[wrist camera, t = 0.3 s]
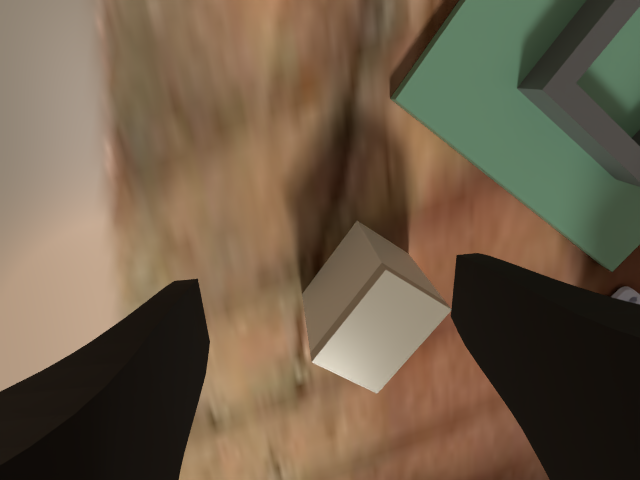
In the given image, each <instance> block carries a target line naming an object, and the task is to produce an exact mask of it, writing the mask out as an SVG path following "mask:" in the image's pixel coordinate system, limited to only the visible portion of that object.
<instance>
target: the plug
mask: <svg viewBox="0 0 640 480" xmlns="http://www.w3.org/2000/svg"><path fill="white" fill-rule="evenodd" d="M302 297H303V304H304V311H305V318H306V326H307V333H308V340H309V347H310V354H311V361H312V363H314V364H317V365H319V366H321V367H323V368H325V369H327V370H329V371H331V372H333V373H335V374H337V375H340V376H342V377H344V378H346V379H348V380H350V381H352V382H354V383H356V384H358V385H360V386H362V387H365V388H367V389H369V390H371V391H373V392H375V393H378V392H379V391H380V390H381V389H382V388H383V386H384V385H385V384H386V383H387V382H388V381H389V380H390V379H391V377H392V376H393V375H394V374H395V373H396V372H397V371H398V370H399V368H400V367H401V366H402V365H403V364H404V363H405V362H406V361H407V359H408V358H409V357H410V356H411V355H412V354H413V353H414V352H415V350H416V349H417V348H418V347H419V346H420V345H421V344H422V343H423V342H424V340H425V339H426V338H427V337H428V336H429V335H430V334H431V333H432V331H433V330H434V329H435V328H436V327H437V326H438V325H439V324H440V322H441V321H442V320H443V319H444V318H445V317H446V316H447V315H448V313H449V312H450V311H451V308H450V307H449V306H448V304H447V303H446V302H445V300H444V299H443V298H442V297H441V295H440V294H439V293H438V291H437V290H436V289H435V287H434V286H433V285H432V283H431V282H430V281H429V280H428V278H427V277H426V276H425V274H424V273H423V272H422V270H421V269H420V268H419V267H418V265H417V264H416V263H415V261H414V260H413V259H412V257H411V256H410V255H409V254H408V253H407V252H405V251H404V250H402V249H401V248H399V247H397V246H396V245H394V244H393V243H391V242H390V241H388V240H387V239H385V238H383V237H382V236H380V235H379V234H377V233H376V232H374V231H373V230H371V229H369V228H368V227H366V226H365V225H363V224H362V223H360V222H359V221H356V222H355V224H354V225H353V226H352V228H351V229H350V230H349V232H348V233H347V235H346V236H345V237H344V239H343V240H342V241H341V243H340V244H339V245H338V247H337V248H336V249H335V251H334V252H333V253H332V255H331V256H330V257H329V259H328V260H327V261H326V263H325V264H324V265H323V267H322V268H321V269H320V271H319V272H318V273H317V275H316V276H315V277H314V279H313V280H312V281H311V283H310V284H309V286H308V287H307V288H306V290H305V291H304V292H303V294H302Z"/></svg>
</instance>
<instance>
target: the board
mask: <svg viewBox="0 0 640 480" xmlns="http://www.w3.org/2000/svg"><path fill="white" fill-rule="evenodd" d="M390 99H391V100H392V101H394V102H395V103H396V104H397V105H399V106H400V107H401V108H403V109H404V110H405V111H406V112H408V113H409V114H410V115H411V116H413V117H414V118H415V119H416V120H418V121H419V122H420V123H422V124H423V125H424V126H425V127H427V128H428V129H429V130H430V131H432V132H433V133H434V134H435V135H437V136H438V137H439V138H440V139H442V140H443V141H444V142H446V143H447V144H448V145H449V146H451V147H452V148H453V149H454V150H456V151H457V152H458V153H459V154H461V155H462V156H463V157H465V158H466V159H467V160H468V161H470V162H471V163H472V164H473V165H475V166H476V167H477V168H478V169H480V170H481V171H482V172H484V173H485V174H486V175H487V176H489V177H490V178H491V179H492V180H494V181H495V182H496V183H497V184H499V185H500V186H501V187H503V188H504V189H505V190H506V191H508V192H509V193H510V194H511V195H513V196H514V197H515V198H516V199H518V200H519V201H520V202H522V203H523V204H524V205H525V206H527V207H528V208H529V209H530V210H532V211H533V212H534V213H535V214H537V215H538V216H539V217H540V218H542V219H543V220H544V221H546V222H547V223H548V224H549V225H551V226H552V227H553V228H554V229H556V230H557V231H558V232H559V233H561V234H562V235H563V236H565V237H566V238H567V239H568V240H570V241H571V242H572V243H573V244H575V245H576V246H577V247H578V248H580V249H581V250H582V251H584V252H585V253H586V254H587V255H589V256H590V257H591V258H592V259H594V260H595V261H596V262H597V263H599V264H600V265H601V266H603V267H605V268H606V269H608V270H610V271H612V272H613V271H614V270H615V269H616V268H617V267H618V266H619V265H620V264H621V263H622V262H623V261H624V260H625V259H626V258H627V257H628V256H629V255H630V254H631V253H632V252H633V251H634V250H635V249H636V248H637V247H638V246H639V245H640V0H459V1H458V3H457V4H456V6H455V7H454V9H453V10H452V11H451V13H450V14H449V16H448V17H447V18H446V20H445V21H444V23H443V24H442V26H441V27H440V28H439V30H438V31H437V33H436V34H435V36H434V37H433V38H432V40H431V41H430V43H429V44H428V46H427V47H426V48H425V50H424V51H423V53H422V54H421V56H420V57H419V58H418V60H417V61H416V63H415V64H414V65H413V67H412V68H411V70H410V71H409V73H408V74H407V75H406V77H405V78H404V80H403V81H402V83H401V84H400V85H399V87H398V88H397V90H396V91H395V93H394V94H393V95H392V97H391V98H390Z"/></svg>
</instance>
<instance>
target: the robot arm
mask: <svg viewBox="0 0 640 480" xmlns="http://www.w3.org/2000/svg"><path fill="white" fill-rule="evenodd" d="M451 318H452V320H453V322H454V324H455V326H456V328H457V330H458V333H459V334H460V336H461V338H462V340H463V342H464V344H465V346H466V347H467V349H468V350H469V352H470V353H471V355H472V356H473V358H474V359H475V361H476V362H477V364H478V365H479V366H480V368H481V369H482V371H483V372H484V374H485V375H486V376H487V378H488V379H489V381H490V382H491V384H492V385H493V386H494V388H495V389H496V391H497V392H498V394H499V395H500V396H501V398H502V399H503V401H504V402H505V404H506V405H507V406H508V408H509V409H510V411H511V412H512V414H513V415H514V417H515V418H516V420H517V422H518V423H519V425H520V426H521V428H522V430H523V431H524V433H525V435H526V437H527V439H528V440H529V442H530V444H531V446H532V448H533V449H534V451H535V453H536V455H537V457H538V458H539V460H540V462H541V464H542V466H543V468H544V470H545V471H546V473H547V475H548V477H549V479H550V480H640V294H639V293H637V292H636V291H635V290H633V289H632V288H630V287H628V286H624V287H622V288H620V289H619V290H617V291H616V292H615V293H614V294H613V295H612V296H611V297H609V296H605V295H602V294H598V293H595V292H592V291H589V290H585V289H582V288H579V287H576V286H573V285H570V284H567V283H564V282H561V281H558V280H555V279H552V278H550V277H547V276H544V275H541V274H539V273H536V272H533V271H530V270H528V269H525V268H522V267H520V266H517V265H514V264H511V263H509V262H506V261H503V260H500V259H497V258H494V257H491V256H488V255H484V254H479V253H474V254H463V255H457V258H456V268H455V279H454V289H453V299H452V310H451ZM209 344H210V340H209V335H208V330H207V324H206V319H205V314H204V309H203V303H202V298H201V293H200V288H199V283H198V279H191V280H180V281H174V282H172V283H171V284H169V285H168V286H166V287H165V288H163V289H162V290H161V291H159V292H158V293H157V294H156V295H154V296H153V297H152V298H150V299H149V300H148V301H147V302H145V303H144V304H143V305H141V306H140V307H139V308H137V309H136V310H135V311H133V312H132V313H131V314H130V315H128V316H127V317H126V318H124V319H123V320H121V321H120V322H119V323H117V324H116V325H114V326H113V327H111V328H110V329H109V330H107V331H106V332H104V333H103V334H102V335H100V336H99V337H97V338H96V339H94V340H93V341H91V342H90V343H88V344H87V345H85V346H83V347H82V348H80V349H79V350H77V351H75V352H74V353H72V354H71V355H69V356H67V357H65V358H64V359H62V360H60V361H58V362H57V363H55V364H53V365H51V366H50V367H48V368H46V369H44V370H42V371H41V372H38V373H36V374H35V375H33V376H31V377H29V378H27V379H25V380H23V381H21V382H19V383H17V384H15V385H13V386H11V387H9V388H7V389H5V390H3V391H1V392H0V480H179V474H180V469H181V465H182V461H183V456H184V452H185V448H186V445H187V441H188V437H189V434H190V430H191V427H192V423H193V419H194V416H195V412H196V408H197V405H198V401H199V398H200V394H201V390H202V386H203V383H204V379H205V375H206V368H207V361H208V353H209Z"/></svg>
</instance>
